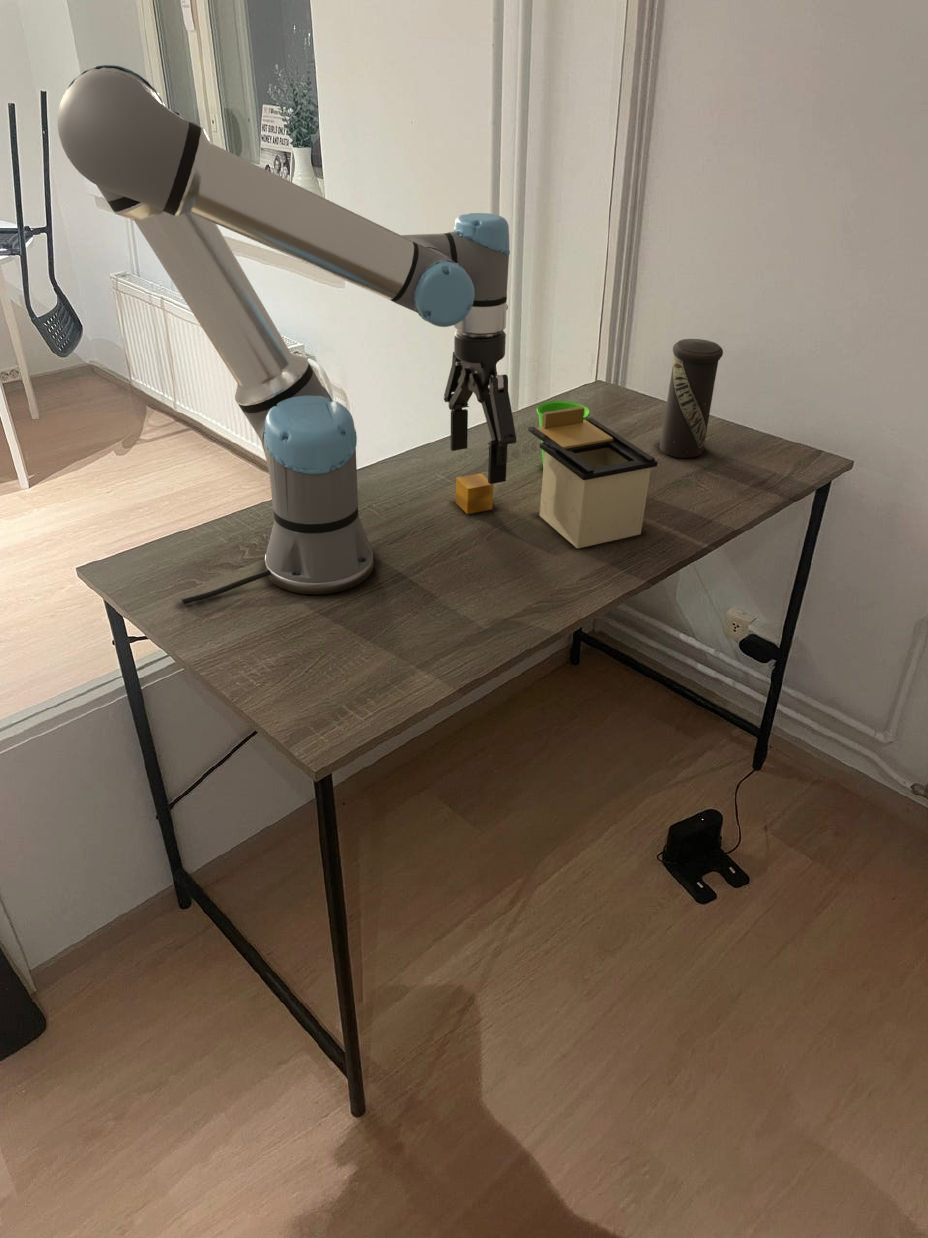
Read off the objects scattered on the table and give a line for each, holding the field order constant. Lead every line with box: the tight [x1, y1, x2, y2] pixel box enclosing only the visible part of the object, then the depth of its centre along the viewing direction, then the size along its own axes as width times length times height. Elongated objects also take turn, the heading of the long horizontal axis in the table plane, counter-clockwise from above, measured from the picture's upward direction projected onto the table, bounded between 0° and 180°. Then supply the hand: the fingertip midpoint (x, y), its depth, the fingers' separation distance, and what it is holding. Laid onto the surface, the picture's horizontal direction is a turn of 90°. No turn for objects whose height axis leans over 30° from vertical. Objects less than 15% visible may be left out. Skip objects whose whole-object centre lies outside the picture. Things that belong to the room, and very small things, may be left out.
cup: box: [536, 400, 591, 467], centre depth 158 cm, size 9×9×11 cm
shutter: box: [536, 406, 613, 449], centre depth 141 cm, size 9×8×3 cm
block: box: [455, 473, 494, 515], centre depth 147 cm, size 4×4×4 cm
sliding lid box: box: [527, 416, 658, 549], centre depth 142 cm, size 13×18×13 cm
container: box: [659, 338, 724, 459], centre depth 164 cm, size 9×9×20 cm
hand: (477, 464), depth 144 cm, fingers open, 13 cm apart
